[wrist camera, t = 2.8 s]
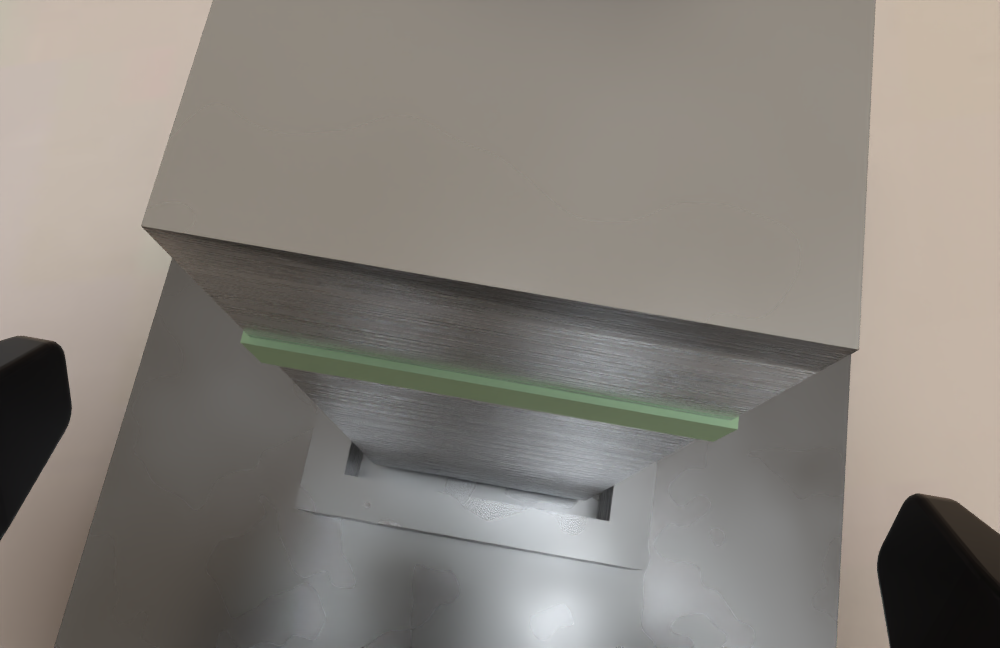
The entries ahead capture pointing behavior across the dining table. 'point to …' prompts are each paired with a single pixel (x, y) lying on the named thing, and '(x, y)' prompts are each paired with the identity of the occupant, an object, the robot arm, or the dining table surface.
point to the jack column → (528, 217)
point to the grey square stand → (440, 526)
